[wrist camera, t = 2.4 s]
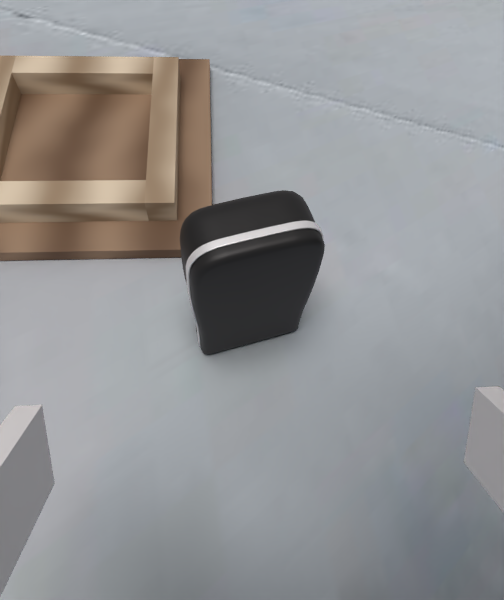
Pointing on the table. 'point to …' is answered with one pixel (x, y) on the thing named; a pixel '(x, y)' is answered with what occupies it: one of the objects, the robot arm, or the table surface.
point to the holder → (101, 155)
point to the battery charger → (249, 267)
